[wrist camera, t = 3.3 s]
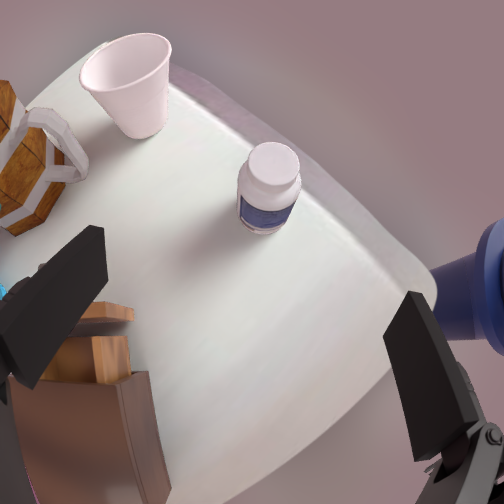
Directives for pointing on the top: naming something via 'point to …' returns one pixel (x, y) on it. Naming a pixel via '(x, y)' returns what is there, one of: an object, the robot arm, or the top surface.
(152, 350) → the top surface
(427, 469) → the robot arm
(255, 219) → the pill bottle
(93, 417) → the cabinet
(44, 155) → the mug
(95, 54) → the cup
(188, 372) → the top surface
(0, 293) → the perfume bottle
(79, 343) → the drawer
